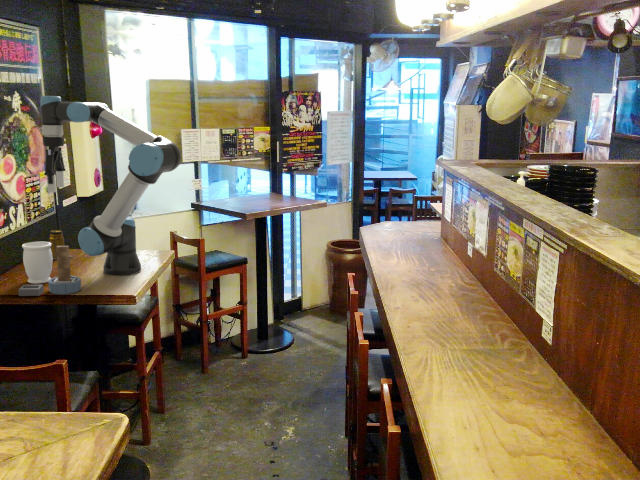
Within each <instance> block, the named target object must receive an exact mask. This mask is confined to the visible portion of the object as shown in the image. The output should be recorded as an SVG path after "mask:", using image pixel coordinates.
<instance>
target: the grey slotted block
mask: <svg viewBox="0 0 640 480" xmlns="http://www.w3.org/2000/svg"><path fill="white" fill-rule="evenodd" d="M44 288H45V287H44V284H22V285H21V287H20V288H18V296H19V297H31V296H32V297H33V296H37V297H38V296H39V297H40V296H41V294H42V293H44Z"/></svg>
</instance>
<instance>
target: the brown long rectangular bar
mask: <svg viewBox="0 0 640 480" xmlns="http://www.w3.org/2000/svg"><path fill="white" fill-rule="evenodd" d="M56 252H57V259H56V264H57V265H56V266H57V268H56V269H57V277H58V281H71V276H72V274H71V260H70V258H71V257H70V256H71V255H70V246H69V245H64V246H57V247H56ZM69 255H70V256H69Z"/></svg>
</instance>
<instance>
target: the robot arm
mask: <svg viewBox="0 0 640 480" xmlns="http://www.w3.org/2000/svg"><path fill="white" fill-rule="evenodd" d="M39 103H40V106H39V107H40V114H41V115H40V117H41V127H40V129H41V130H42V131H41V132H42V135H43V137H42V144H43V147H48V149H45V167H44V168H45V169H44V174H43V175H44V176H46V181H47V183H46V184H47V192H48V193H56V192H57V191H56V188H65V177H64V172H66V168H65V163H64V157H63V150H62V147H64V145H65V142H64V141H65V140H64V139H65V138H64V125H63V123H64V122H71V123H85V122H87V123H89V122H92V123H94V124H96V125H98V126H99V127H101V128H104V129H106V130H107V131H109V132H110V133H113V134H114V135H115V136H118V137H119V138H121V139H123V140H124V141H126V142H128V143H129V144H131V145H133V146H134V147H132V149H131V150H130V153H129V155H128V161H129V162H128V165H127V170H128V173H127V175H126V176H125V178H124V179H123V181H122V183H121V184H120V185H119V187H118V188H117V190H116V191H115V193H114V195H113V196H112V198H111V199H110V201H109V202H108V203H107V206H106V207H105V208H104V210H103V212H102V213H101V215H97V216H95V217H94V218H93V220H92V221H91V223H90V225H88V226H86V227H84V228H81V229H80V231H79V232H78V234H77V240H78V241H77V242H78V245H79V247H80V249H81V250H82V252H83V253H85V255H88V256H90V257H96V256H101V255H103V254H106V257H105V261H104V263H103V266H102V267H103V273H104V274H106V275H109V276H110V275H111V276H128V275H133V274H134V273H135V274H137V273H136V272H138V273H140V272H141V271H142V265H141V264H142V263H141V262H140V259H139V256H138V254H137V253H138V252H137V239H136V237H137V236H136V229H137V228H136V221H135V219H134V218H132V217H129V216H130V214H131V213H132V211H133V209H134V208H135V206H136V205H137V203H138V202H139V201H140V200H141V198H142V197H143V194H144V193H145V192H146V190H147V189H148V187H149V186H150V185H154V184H156V183H157V181H158V180H159V179H160V177H161V176H162V174H163V173H170V172H172V171H175V170H176V169H178V167H179V166H180V165H181V161H182V152H181V149H180V148H179V146H178V145H177V144H176V143H174V142H173V141H171V140H170V139H168V138H166V137H164V136H162V135H155V134H153V133H151V132H150V131H148V130H146V129H144V128H143V127H141V126H139V125H137V124H136V123H134V122H132V121H130V120H128V119H126V117H125V118H124V117H123V116H121V115H120V114H117V113H116V112H114V111H112V110H111V108H110V107H109V105H107V104H106V103H103V102H99V101H94V102H91V101H89V102H86V101H85V102H84V101H83V102H81V101H62V98H61V96H57V95H43V96H41V97H40V102H39ZM55 169H56V171H55ZM140 270H141V271H140ZM139 271H140V272H139Z"/></svg>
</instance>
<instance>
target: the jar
mask: <svg viewBox="0 0 640 480" xmlns="http://www.w3.org/2000/svg"><path fill="white" fill-rule="evenodd" d="M50 247H51V243H50V241H41V240H40V241H39V240H38V241H29V242H25V243H23V244H22V245H21V248H22V249H23V252H22V253H23V254H22V261H23V262H22V263H23V267H24V270H25V274H26V276H27V278H28V279H27V282H28V283H30V284H32V285H41V284H45V283H48V281H49V280H50V279H52V278H51V276H50V275H51V274H52V269H53V261H54V259H53V258H52V251H51V249H50Z"/></svg>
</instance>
